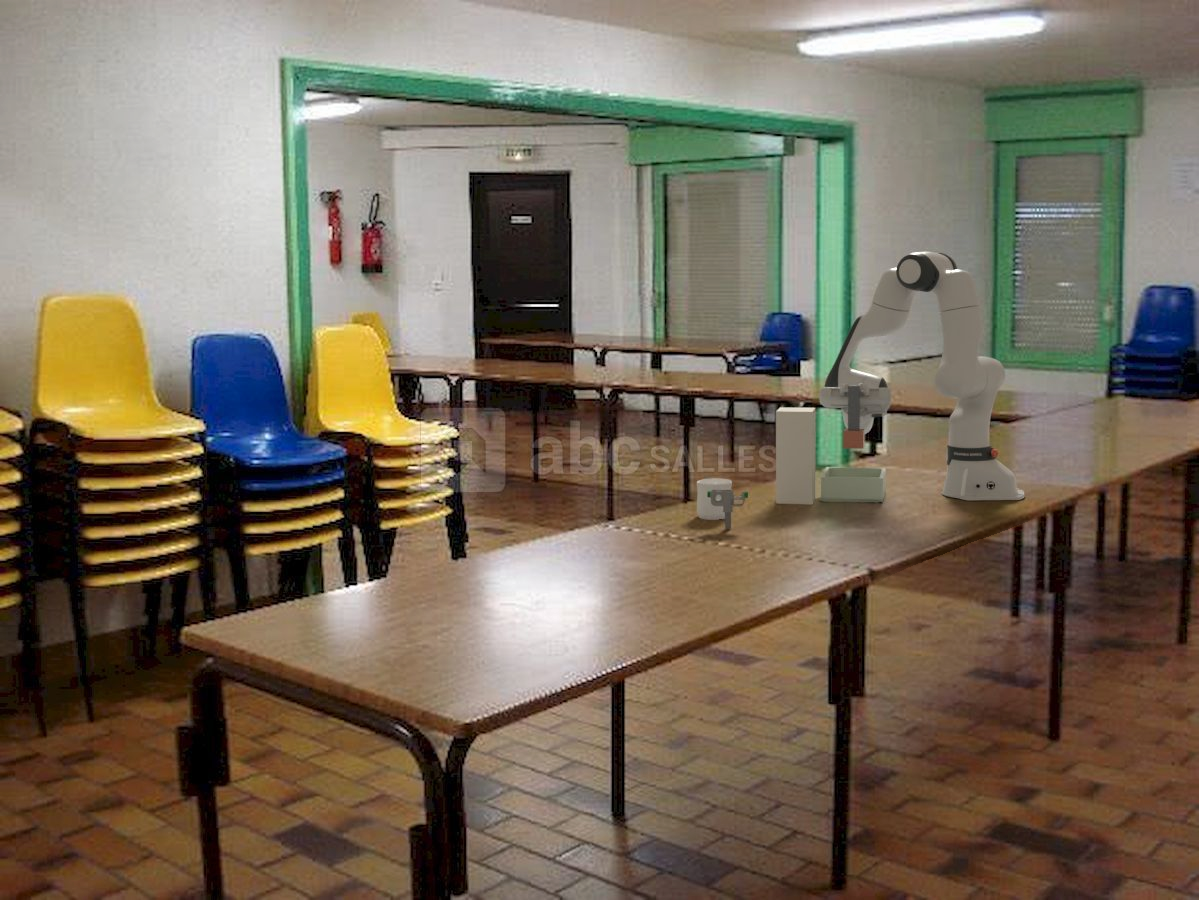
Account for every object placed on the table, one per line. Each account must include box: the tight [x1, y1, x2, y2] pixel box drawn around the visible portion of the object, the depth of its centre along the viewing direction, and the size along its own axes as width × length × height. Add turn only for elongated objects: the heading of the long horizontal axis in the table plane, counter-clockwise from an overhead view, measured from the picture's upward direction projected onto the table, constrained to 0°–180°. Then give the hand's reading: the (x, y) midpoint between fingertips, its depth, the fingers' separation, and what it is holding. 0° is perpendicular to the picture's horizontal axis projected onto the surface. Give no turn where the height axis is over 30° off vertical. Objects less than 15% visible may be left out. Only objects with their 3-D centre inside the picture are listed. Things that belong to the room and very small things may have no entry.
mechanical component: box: [707, 489, 749, 530], centre depth 338 cm, size 3×10×10 cm, turn 79°
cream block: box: [775, 406, 816, 505], centre depth 371 cm, size 10×9×26 cm
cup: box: [696, 477, 733, 521], centre depth 354 cm, size 10×10×10 cm
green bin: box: [820, 466, 887, 503], centre depth 377 cm, size 17×17×7 cm
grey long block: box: [842, 385, 865, 450], centre depth 373 cm, size 6×18×5 cm
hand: (853, 386), depth 370 cm, fingers closed on grey long block, 3 cm apart
